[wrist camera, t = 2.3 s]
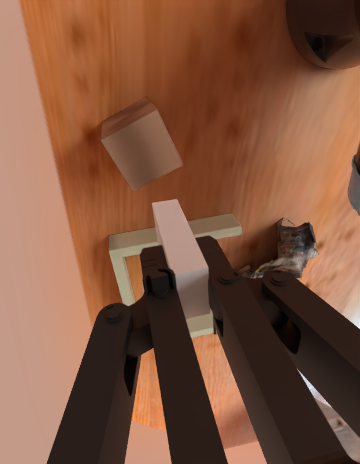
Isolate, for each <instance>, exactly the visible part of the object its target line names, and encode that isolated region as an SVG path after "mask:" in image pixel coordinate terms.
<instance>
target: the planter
mask: <svg viewBox="0 0 360 464" xmlns="http://www.w3.org/2000/svg"><path fill="white" fill-rule="evenodd" d="M314 399H315V398H314ZM315 400H316V402H317V404H318V405H319V407H320V409H321V410H322V412H323V414H324V416H325V417H326V419H327V421H328V422H329V424H330V426H331V427H332V429H333V431H334V433H335V434H336V436H337V438H338V439H339V441H340V443H341V444H342V446H343V448H344V449H345V451H346V452H347V454H348V455H349V456H350V457H351V458H352V459H353V460H355V461H357V462H358V463H360V438H359V437H358V436H357V434H356V433H355V432H354V431H353V430H352V429H351V428H350V427H349V426H348V424H347V423H346V422H345V421H344V420H343V419H342V418H341V417H340V416H339V414H338V413H337V412H336V411H335V410H334V409H333V408H331V407H330V406H327V405H326V404H324V403H322V402H321V401H319V400H317V399H315Z"/></svg>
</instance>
